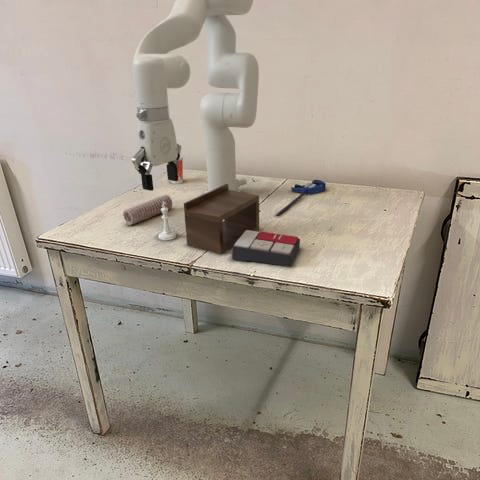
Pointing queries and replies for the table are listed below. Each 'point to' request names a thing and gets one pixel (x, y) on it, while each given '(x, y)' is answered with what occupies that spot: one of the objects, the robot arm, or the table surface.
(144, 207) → the coil
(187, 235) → the brown wooden cabinet
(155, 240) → the table surface
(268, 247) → the grey and red box
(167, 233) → the chess piece
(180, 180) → the beverage cup
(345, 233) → the table surface
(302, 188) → the bar clamp
